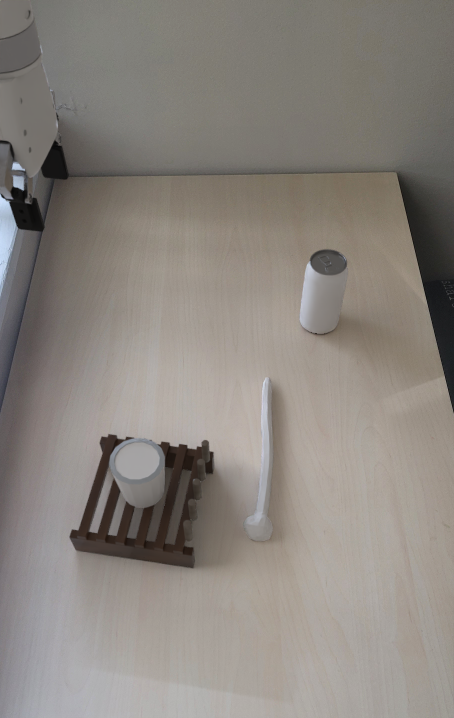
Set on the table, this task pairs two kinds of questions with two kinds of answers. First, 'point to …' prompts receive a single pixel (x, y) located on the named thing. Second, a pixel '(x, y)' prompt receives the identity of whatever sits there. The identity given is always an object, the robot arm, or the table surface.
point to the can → (323, 291)
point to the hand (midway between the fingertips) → (44, 202)
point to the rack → (146, 509)
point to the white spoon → (263, 473)
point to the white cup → (139, 471)
